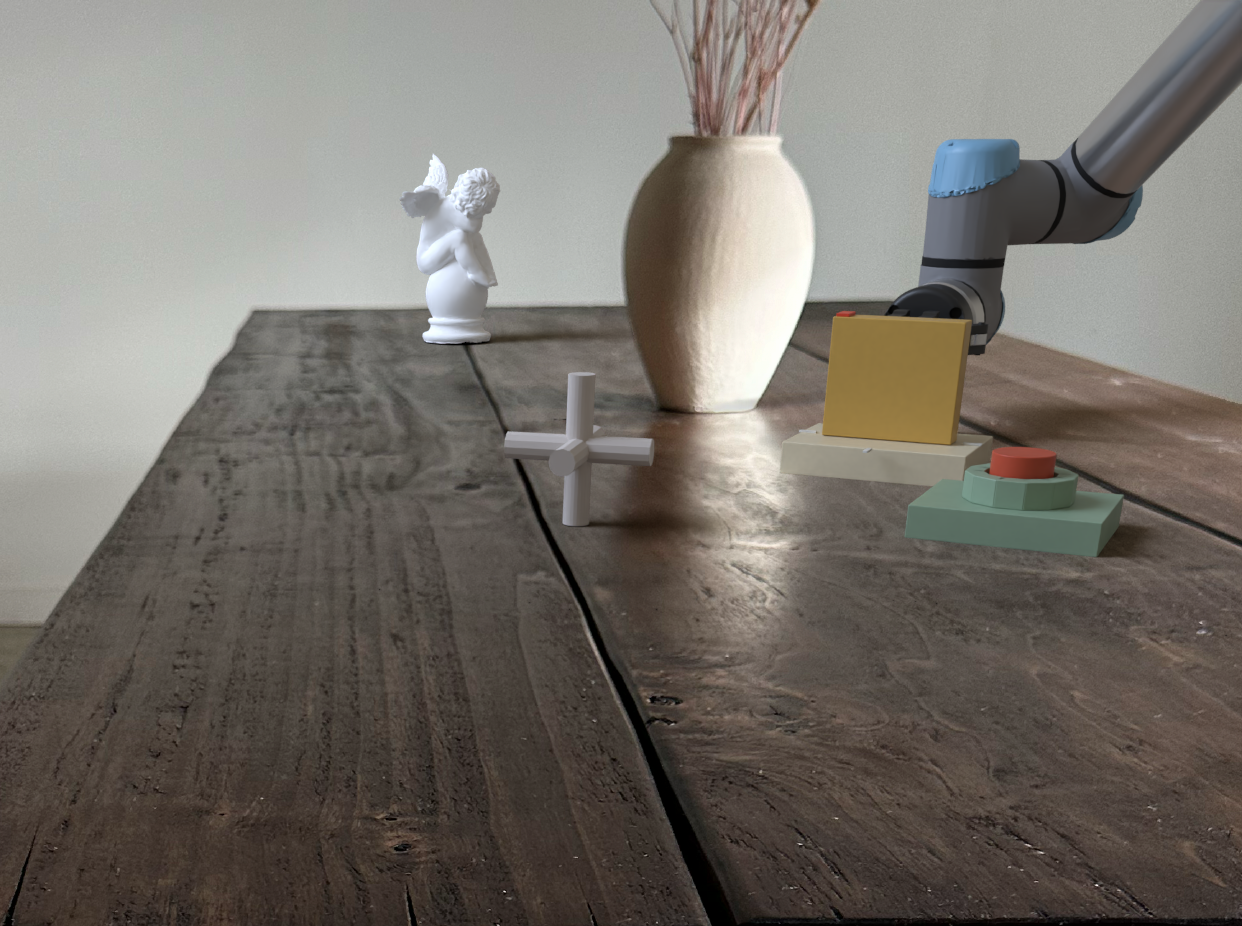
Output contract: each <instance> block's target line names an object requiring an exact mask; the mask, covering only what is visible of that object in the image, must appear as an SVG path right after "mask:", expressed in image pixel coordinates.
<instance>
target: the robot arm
mask: <svg viewBox="0 0 1242 926" xmlns="http://www.w3.org/2000/svg"><path fill="white" fill-rule="evenodd" d="M1240 86H1242V0H1199V1H1198V2H1197V3H1196V5H1194V7H1193V8H1192V9H1191V10H1190V11H1189V12H1188V14H1186V16H1185V17H1184V18H1183V19H1182V20H1181V21H1180V22H1179V24H1178V25H1176V27H1175V28H1174V29H1173V30H1172V31H1171V33H1170V34H1169V35H1168V36H1167V37H1166V38H1165V39H1164V40H1163V42H1161V44H1160V45H1158V47H1157V48H1156V49H1155V51H1153V53H1152V54H1151V55H1150V56H1149V57H1148V58H1147V60H1146V61H1145V62H1144V63H1143V64H1142V65H1141V66H1140V67H1139V68H1138V69H1137V70H1136V72H1135V73H1134V74H1133V75H1132V77H1130V79H1128V81H1127V82H1126V83H1125V84H1124V85H1123V86H1122V88H1121V89H1119V91H1118V92H1117V93H1116V94H1115V95H1114V96H1113V97H1112V99H1111V100H1109V102H1108V103H1107V104H1106V106H1104V107H1103V109H1102V110H1101V111H1100V112H1099V113H1098V114H1097V116H1096V117H1095V118H1094V119H1093V120H1092V121H1091V122H1090V123H1089V125H1087V127H1086V128H1085V129H1084V130H1083V131H1082V132H1081V133H1080V135H1078V136H1077V138H1076V139H1075V140H1074V141H1073V142H1072V143H1071V144H1070V145H1069V146H1068V147H1067V148H1066V150H1065V151H1064V152H1063V153H1062V154H1061V155H1060V156H1058V157H1057V158H1056V159H1021V158H1020V157H1021V156H1020V154H1021V153H1020V152H1021V151H1020V149H1021V148H1020V144H1019V142H1018V141H1017V140H1016V139H1013V138H951V139H946V140H944V141H943V142H941V143H940V144H939V145H938V147H937V148H936V151H935V155H934V160H933V164H932V166H931V167H932V168H931V172H930V173H931V174H930V181H929V184H928V188H927V193H928V197H927V198H928V199H927V210H926V220H925V231H924V240H923V249H922V250H923V251H922V255H921V263H920V267H919V276H918V285H917V287H913V288H910V289H908V290H907V291H905V292H903V293H901V294H899V296H898V297H896V298H895V299H894V301H892V303H891V304H890V305H889V307H888V308H887V309H886V311H885V313H884V315H883V316H897V317H919V318H941V319H963V320H972V326H971V333H970V341H969V349H968V356H981V355H985V354H986V347H987V345H988V344H989V343H990V342H991V341H992V339H993V337H995V335H996V334H997V333H998V331H999V330H1000V328H1001V326H1002V324H1003V321H1004V318H1005V314H1006V300H1005V297H1004V293H1003V291H1002V283H1003V275H1004V269H1005V268H1004V267H1005V263H1006V255H1007V251H1008V246H1022V245H1059V244H1060V245H1064V244H1066V245H1067V244H1069V245H1070V244H1072V245H1086V244H1087V245H1088V244H1092V243H1095V242H1098V241H1108V240H1112V239H1114V238H1117V237H1119V236H1120V235H1122V234H1123V233H1124V232H1126V231H1127V230H1128V229H1130V227H1131V225H1132V224H1133V223H1134V221H1135V220H1136V215H1137V213H1138V210H1139V208H1141V206H1142V202H1143V196H1144V187H1143V186H1144V184H1145V183H1146V182H1147V181H1148V180H1149V179H1150V178H1151V177H1152V176H1153V175H1154V174H1155V173H1156V172H1157V171H1158V170H1159V168H1161V167H1162V166H1163V164H1165V163H1166V162H1167V160H1169V158H1170V157H1171V156H1172V155H1173V154H1174V153H1175V152H1176V151H1177V150H1179V148H1180V147H1181V146H1182V145H1183V144H1184V143H1185V142H1186V141H1187V140H1188V139H1189V138H1190V137H1191V136H1192V135H1193V134H1194V133H1195V132H1196V131H1197V130H1198V129H1199V128H1200V127H1201V126H1202V125H1203V124H1204V123H1205V122H1206V121H1207V120H1208V119H1209V118H1210V117H1211V116H1212V115H1213V114H1214V113H1215V112H1216V111H1217V109H1218V108H1220V107H1221V105H1222V104H1223V103H1225V102H1226V100H1227V99H1228V98H1230V96H1232V94H1233V93H1234V92H1235V91H1236V90H1237V89H1238V88H1239V87H1240Z"/></svg>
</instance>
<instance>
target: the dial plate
mask: <svg viewBox="0 0 1242 926" xmlns="http://www.w3.org/2000/svg"><path fill="white" fill-rule="evenodd" d="M822 428H823V422H818V423H815V424H814V425H812V426H810V427H808V428H806V429H798V433H796V434H795V435H793V436H790V437H789V438H787V439H785V440H783V441H782V442H781V451H780V452H781V453H780V464H779V474H782V475H783V474H784V475H795V476H807V477H818V478H828V479H838V478H840V479H839V480H850V481H851V480H852V481H862V482H872V483H873V482H874V483H885V484H895V485H905V486H906V485H907V486H919V487H930V488H931V487H933V486H934V485H935V484H937V483H938V482H939V481H940V480H942V479H948V480H960V481H964V475H965V470H967V469H968V468H969V467H970V466H974V465H981V464H988V463H991V456H992V448H993V440H994V436H993V435H983V434H972V433H971V434H970V433H958V434H957V440H956V441H955V442H954V443H952V444H951V445H944V444H931V443H918V442H905V441H892V440H880V439H867V438H854V437H841V436H828V435H822Z"/></svg>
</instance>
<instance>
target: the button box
mask: <svg viewBox="0 0 1242 926" xmlns="http://www.w3.org/2000/svg"><path fill="white" fill-rule="evenodd" d="M990 465H991V462H990V463H988V464H981V465H974V466H970V467H969V468H968V469H967V470H965V475H964V481H960V480H948V479H942V480H940V481H939V482H938V483H937V484H935V485H934V486H933V487H930V488H929V489H927V490H926V491H925V492H924V493H922V494H921V495H920V496H918V497H917V498H915V499H914V500H913V501H912V502H910V503H909V504H908V506H907V513H906V523H905V530H904V538H905V539H915V540H925V541H934V542H944V543H954V544H964V545H973V546H981V547H994V548H1002V549H1013V550H1022V551H1031V552H1039V553H1051V554H1061V555H1070V556H1080V557H1089V558H1097V557H1099V555H1100V553H1101V552H1102V551H1103V549H1104V548H1105V547H1106V545H1107V544H1108V542H1109V541H1110V540H1111V538H1112V537H1113V536H1114V534H1115V533H1116V531H1117V530H1118V529H1119V528H1120V522H1121V517H1122V511H1123V505H1124V499H1125V494H1120V493H1109V492H1108V493H1107V492H1096V491H1086V490H1085V491H1084V490H1077V487H1078V483H1079V474H1078V473H1076V472H1074V471H1071V470H1069V469H1068V468H1062V467H1057V466H1055V469H1054V476H1053V478H1048V479H1016V478H1005V477H1000V476H995V475H990V474H989V472H990Z"/></svg>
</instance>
